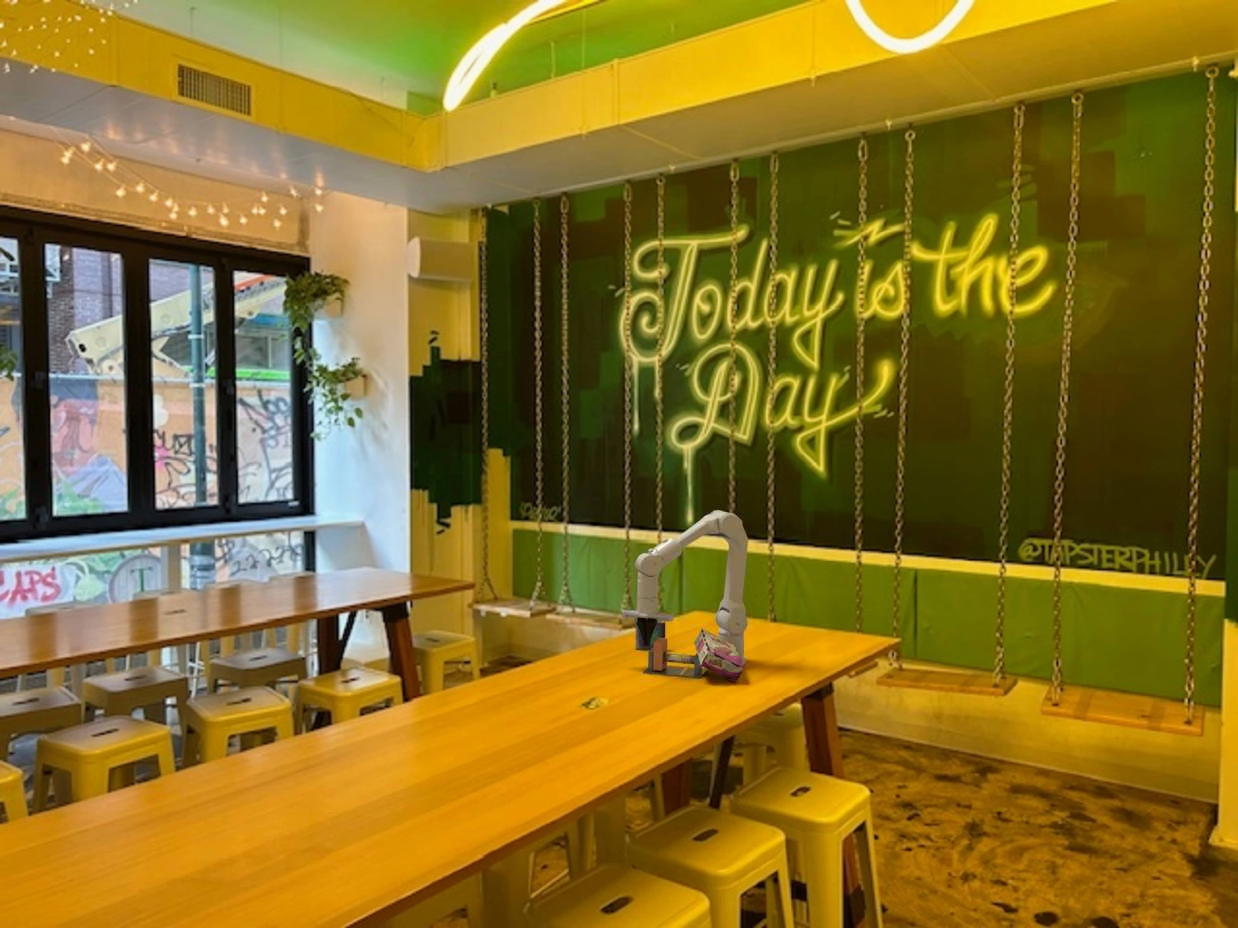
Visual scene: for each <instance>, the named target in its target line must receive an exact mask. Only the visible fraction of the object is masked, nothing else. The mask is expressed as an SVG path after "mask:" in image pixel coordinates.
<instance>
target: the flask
mask: <svg viewBox="0 0 1238 928" xmlns="http://www.w3.org/2000/svg"><path fill="white" fill-rule="evenodd" d="M636 621H637V619H636V620H635V622H636ZM658 638H666V621H661V620H658V622H657V624H656V626H655V629H654V631H653V634H652V637H651V642H650V645H649V646H644V645H643V639H642V636H641V633H640V630H639V628H638V626H637V624H636V623H635V650H638V651H647V652H649V651H650V650H651V649H652V648H654V642H655V641H656V640H657V639H658Z"/></svg>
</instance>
